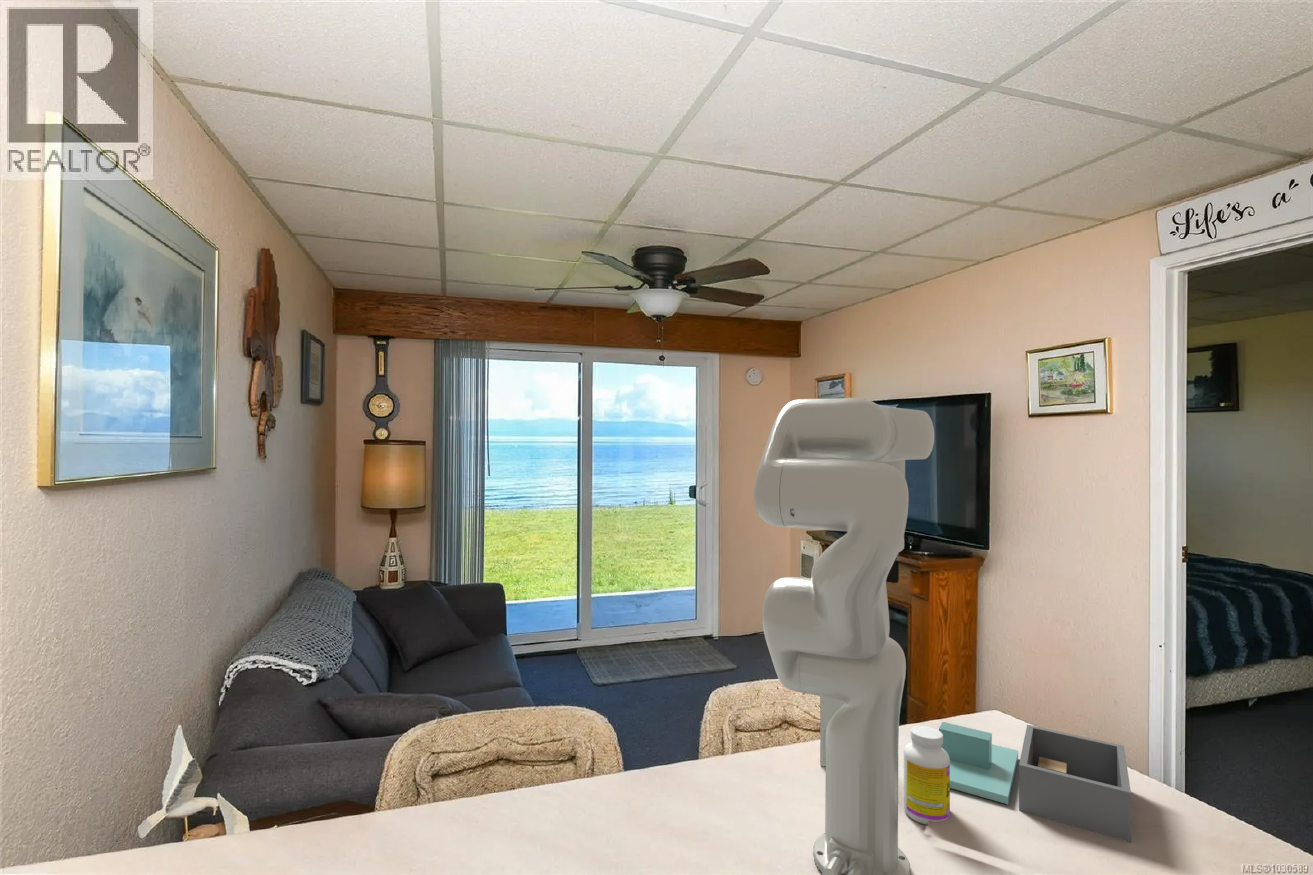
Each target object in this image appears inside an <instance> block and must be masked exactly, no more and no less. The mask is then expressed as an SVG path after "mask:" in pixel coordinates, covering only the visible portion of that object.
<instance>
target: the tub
mask: <svg viewBox="0 0 1313 875" xmlns="http://www.w3.org/2000/svg"><path fill="white" fill-rule="evenodd" d="M1021 748H1022V749H1021V753H1020V758H1019V759H1020V760H1019V762H1018V811H1019V812H1023V813H1025V814H1030V815H1033V816H1037V817H1040V818H1044V819H1046V820H1047V819H1048V820H1051V821H1055V822H1058V823H1062V824H1065V825H1069V826H1071V827H1072V826H1073V827H1076V828H1079V829H1082V830H1086V831H1090V832H1093V833H1097V834H1100V835H1104V836H1106V837H1111V838H1113V839H1117V840H1121V841H1124V842H1128V843H1132V792H1131V784H1130V777H1129V771H1128V764H1127V758H1126V751H1125V745H1122V744H1118V743H1114V742H1113V743H1112V742H1109V741H1104V740H1099V739H1095V738H1090V737H1085V736H1081V735H1076V734H1072V733H1067V732H1062V731H1058V730H1052V729H1049V728H1046V727H1045V728H1044V727H1040V726H1035V725H1031V724H1027V725H1026V729H1025V733H1024V739H1023V742H1022V747H1021ZM1039 757H1042V758H1047V759H1051V760H1055V761H1059V762H1063V763H1067V774H1065V773H1061V772H1057V771H1053V770H1049V769H1045V768H1041V767H1038V762H1039Z"/></svg>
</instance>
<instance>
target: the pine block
mask: <svg viewBox="0 0 1313 875" xmlns="http://www.w3.org/2000/svg"><path fill="white" fill-rule="evenodd" d="M1038 767H1041V768H1045V769H1049V770H1053V771H1057V772H1061V773H1065V774H1067V763H1063V762H1059V761H1055V760H1051V759H1047V758H1042V757H1039V762H1038Z"/></svg>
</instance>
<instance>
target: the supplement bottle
mask: <svg viewBox="0 0 1313 875" xmlns="http://www.w3.org/2000/svg"><path fill="white" fill-rule="evenodd" d="M910 740H911V742H908V743H907V744H906V745H905V747H904V749H903V750H904V751H903V809H904V811H905V813H906V815H907V816H908V817H909V818H911V819H912V820H913V821H916V822H917V823H920V824H922V825H929V822H943V821H945V820H948V819H949V818H950V814H951V805H950V804H951V801H950V800H951V788H950V758H949V755H948V753H947V752H946V751H945V750H944V749H943V748H941V746H942V744H943V734H942V733H941V732H940V731H939V729H936V728H934V727H931V726H925V725H916V726H915V725H914V726H912V727H910Z"/></svg>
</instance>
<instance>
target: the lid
mask: <svg viewBox="0 0 1313 875" xmlns="http://www.w3.org/2000/svg"><path fill="white" fill-rule="evenodd" d="M938 731H940V732H941V733H942V734H943V744H942V746H941V748H943V749H944V750H945V751H946V752H947V753H948V755H949V758H950V789H952V790H956V791H959V792H962V793H967V794H969V795H973V796H977V797H981V798H985V799H988V800H991V801H995V802H998V803H1001V804H1005V805H1009V802H1010V797H1011V794H1012V790H1013V789H1012V788H1013V784H1014V783H1013V782H1014V779H1015V774H1016V769H1017V764H1018V760H1019V750H1018V749H1013V748H1009V747H1005V746H1001V745H996V744H993V743H992V742H993V740H992V739H993V738H992V737H993V735H992V734H993V733H992V732H987V731H983V730H979V729H976V728H971V727H966V726H962V725H958V724H953V723H950V722H945V721H941V724H940V726H939V727H938Z"/></svg>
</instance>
